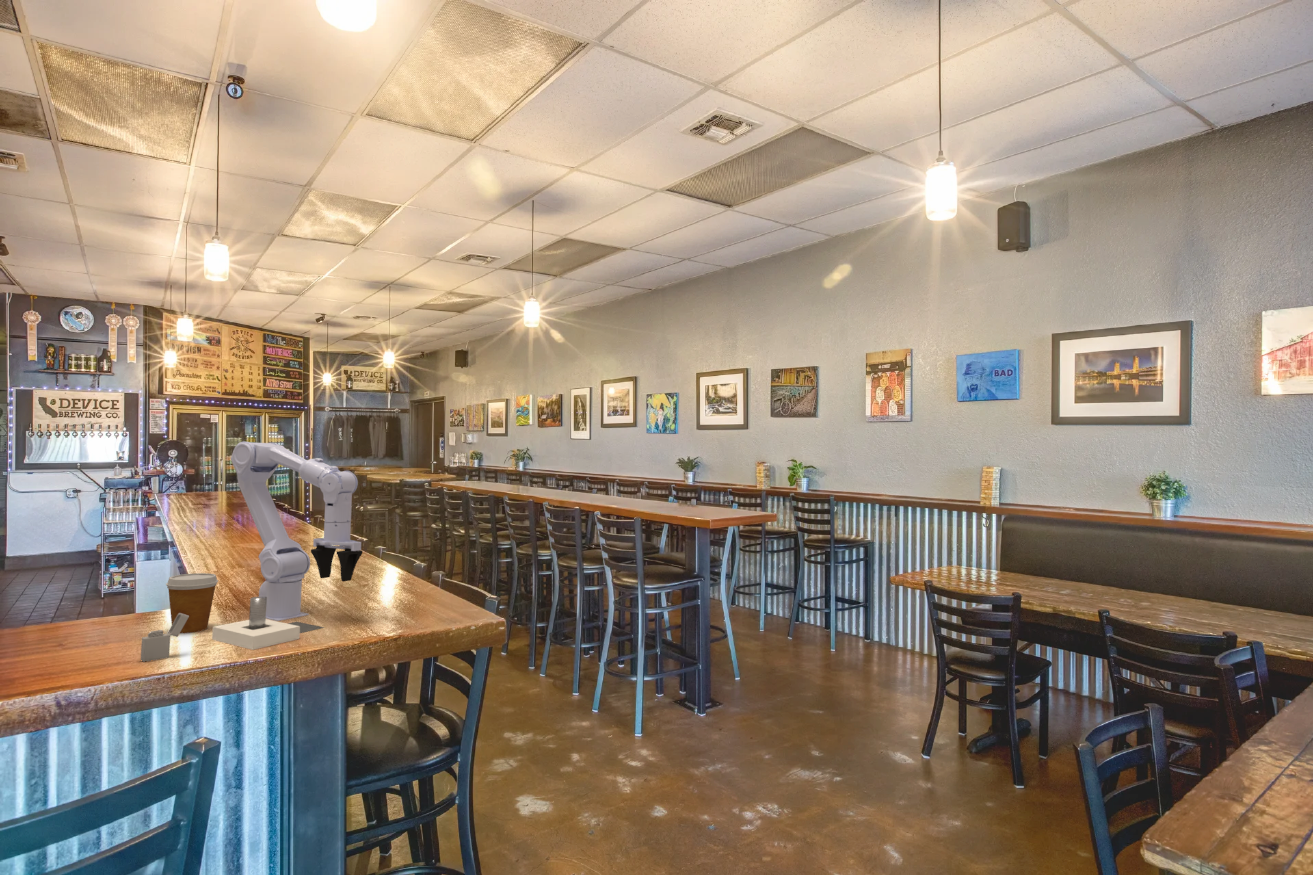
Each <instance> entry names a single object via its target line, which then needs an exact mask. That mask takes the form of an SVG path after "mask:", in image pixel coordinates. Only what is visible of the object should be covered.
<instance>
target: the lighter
mask: <svg viewBox="0 0 1313 875" xmlns="http://www.w3.org/2000/svg"><path fill="white" fill-rule="evenodd" d="M188 617H189V616H188V615H186V614H182V613H179V614H178V615H177V617H176V619H175V621H174V622H173V624H172V623H171V625H170V627H169V630H168V631H167V633H164V630H163V629H158V630H152V631H150V632H148V633H147V636H143V637H141V643H140V644H141V646H140V647H141V648H140V650H141V651H140V661H141V660H142V661H143V662H142V661H141V662H142V663H146V662H145V661H147V662H151V660H153V661H157V660H163V659H164V660H165V659H168V658H170V649H171V648H170V647H171V646H170V645H171V636H173V637H178V636H179V635H180V634H181V633H180V632H181V630H182V628H183V626H184V624H185V623H186V621H187V619H188Z"/></svg>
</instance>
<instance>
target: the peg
mask: <svg viewBox="0 0 1313 875" xmlns="http://www.w3.org/2000/svg"><path fill="white" fill-rule="evenodd" d="M249 602H250V603H249V619H248V620H249V629H251V630H256V629H260V628H265V622H266V604H267V597H259V596H253V597H250V600H249Z"/></svg>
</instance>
